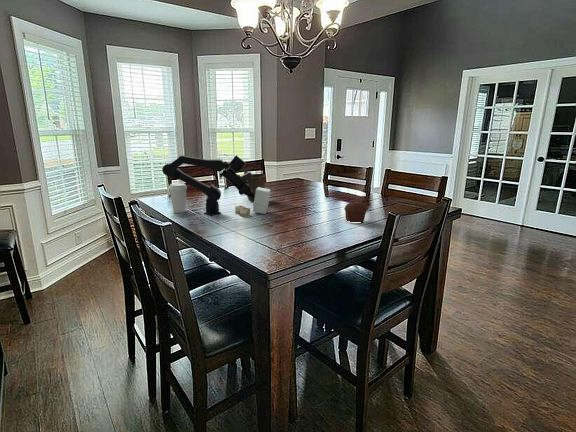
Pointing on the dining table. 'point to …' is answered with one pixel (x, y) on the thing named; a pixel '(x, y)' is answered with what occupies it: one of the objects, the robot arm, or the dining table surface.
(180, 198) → the coffee cup
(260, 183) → the plant pot
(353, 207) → the muffin
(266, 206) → the supplement box
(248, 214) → the marked block
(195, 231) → the dining table surface
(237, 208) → the marked block
